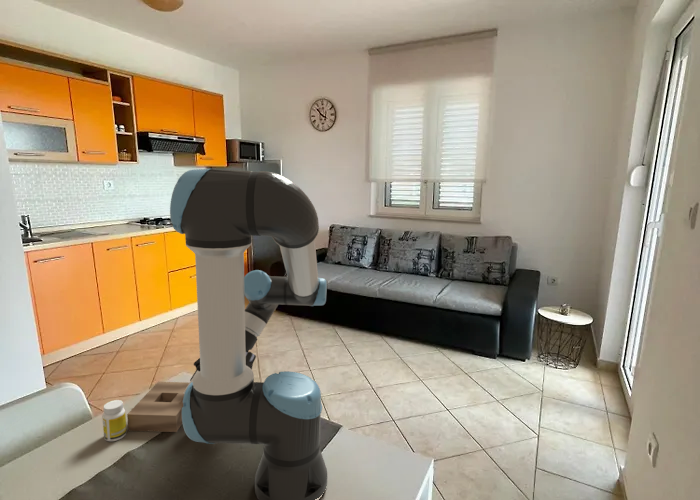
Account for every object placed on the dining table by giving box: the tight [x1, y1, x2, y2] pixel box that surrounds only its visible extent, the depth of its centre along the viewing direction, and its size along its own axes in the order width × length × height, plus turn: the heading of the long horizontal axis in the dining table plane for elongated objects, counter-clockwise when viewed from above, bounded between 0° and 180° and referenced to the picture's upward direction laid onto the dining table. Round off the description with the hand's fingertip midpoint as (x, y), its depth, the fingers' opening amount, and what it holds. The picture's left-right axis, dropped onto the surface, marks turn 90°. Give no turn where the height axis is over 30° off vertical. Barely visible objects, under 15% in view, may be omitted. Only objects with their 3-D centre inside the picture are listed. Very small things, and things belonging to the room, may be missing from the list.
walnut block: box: [126, 381, 190, 433], centre depth 104 cm, size 16×12×4 cm
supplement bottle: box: [102, 399, 128, 442], centre depth 93 cm, size 5×5×8 cm
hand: (202, 404), depth 99 cm, fingers open, 13 cm apart
